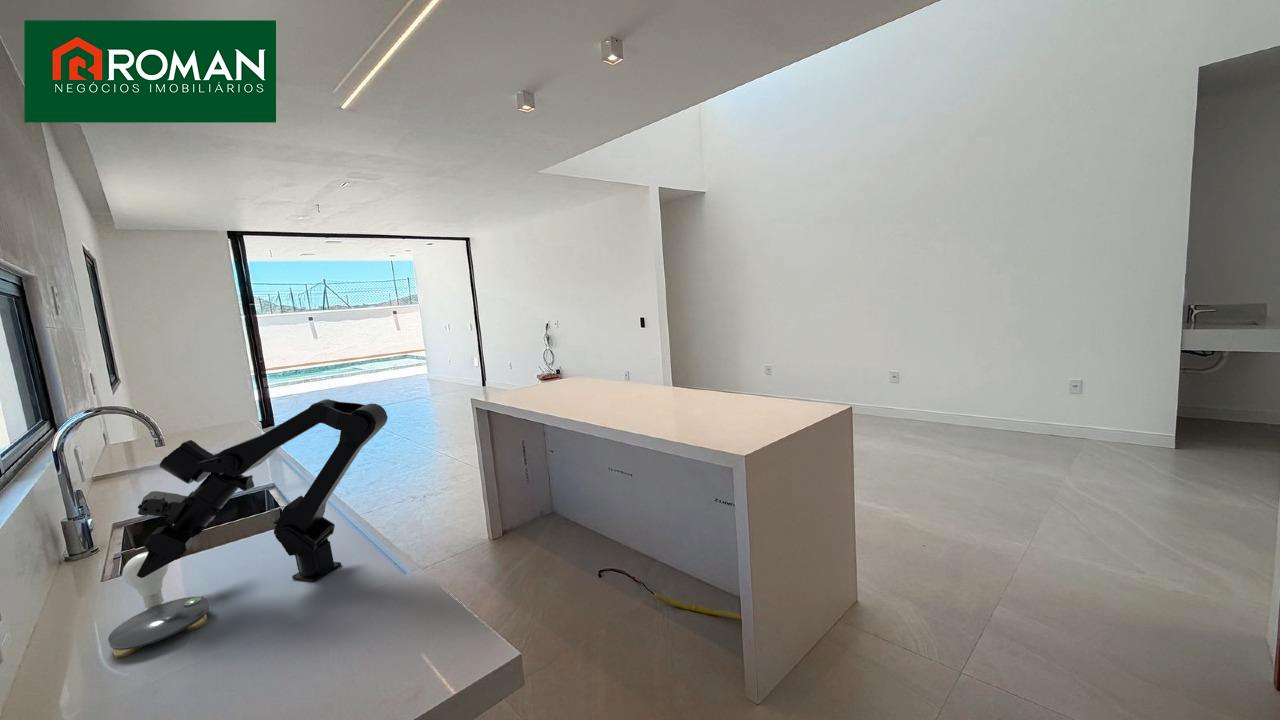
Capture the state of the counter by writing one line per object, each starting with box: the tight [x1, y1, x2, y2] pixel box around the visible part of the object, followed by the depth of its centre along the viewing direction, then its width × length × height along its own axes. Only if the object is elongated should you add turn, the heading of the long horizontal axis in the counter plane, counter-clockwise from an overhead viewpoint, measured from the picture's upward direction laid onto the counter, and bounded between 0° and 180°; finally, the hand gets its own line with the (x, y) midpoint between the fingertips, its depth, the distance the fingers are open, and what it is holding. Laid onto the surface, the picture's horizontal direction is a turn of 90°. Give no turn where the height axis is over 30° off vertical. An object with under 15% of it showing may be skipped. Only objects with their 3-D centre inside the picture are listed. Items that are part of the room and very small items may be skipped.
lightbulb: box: [121, 551, 170, 609], centre depth 98 cm, size 6×6×11 cm
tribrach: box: [107, 596, 210, 659], centre depth 90 cm, size 13×13×3 cm
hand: (150, 565), depth 98 cm, fingers open, 9 cm apart
